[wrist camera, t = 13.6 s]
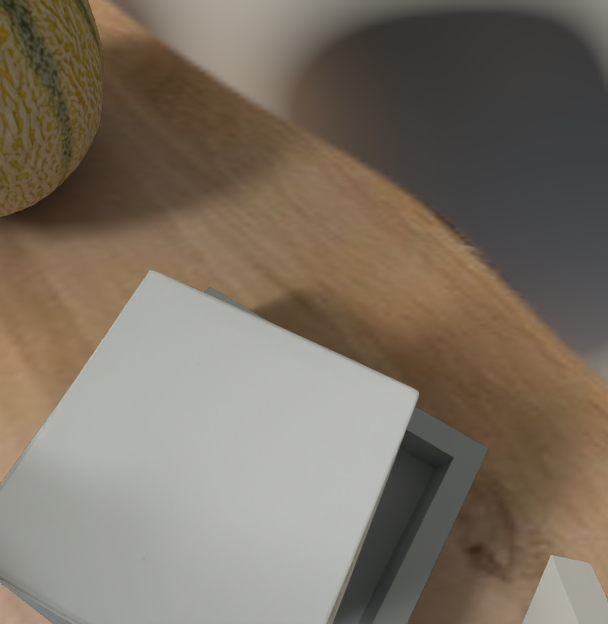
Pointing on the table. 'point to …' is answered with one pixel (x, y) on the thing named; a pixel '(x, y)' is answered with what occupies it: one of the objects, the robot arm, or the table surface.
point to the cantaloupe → (46, 95)
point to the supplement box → (201, 472)
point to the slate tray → (398, 520)
